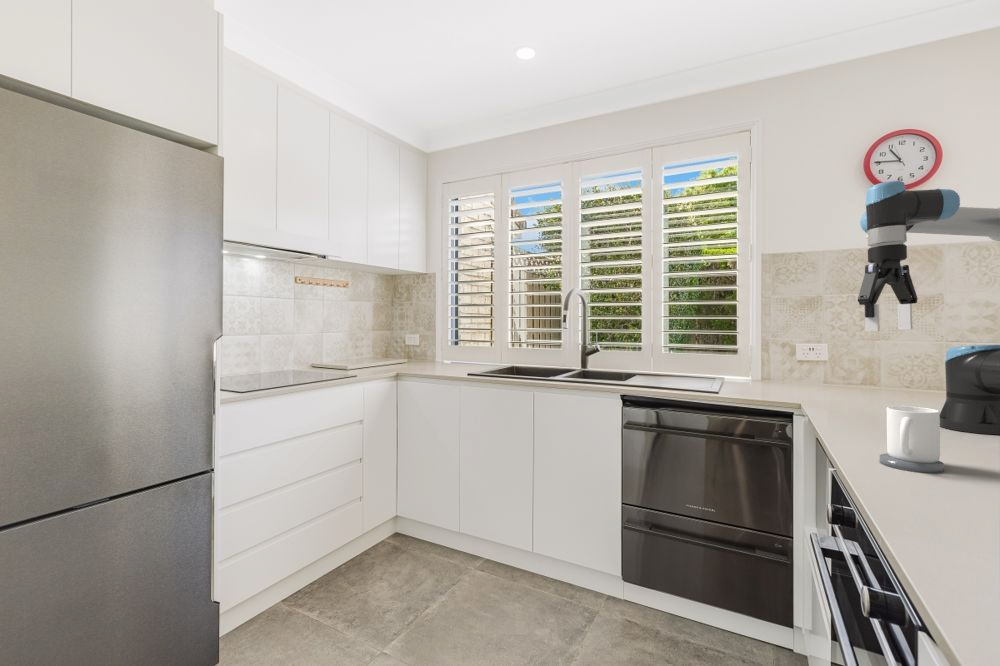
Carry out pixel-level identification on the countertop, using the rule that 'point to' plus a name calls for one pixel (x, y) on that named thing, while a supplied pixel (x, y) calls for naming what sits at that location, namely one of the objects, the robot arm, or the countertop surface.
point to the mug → (913, 434)
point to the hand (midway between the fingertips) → (889, 330)
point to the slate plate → (911, 465)
